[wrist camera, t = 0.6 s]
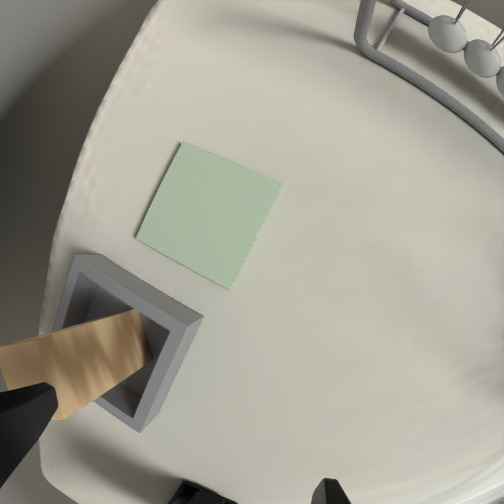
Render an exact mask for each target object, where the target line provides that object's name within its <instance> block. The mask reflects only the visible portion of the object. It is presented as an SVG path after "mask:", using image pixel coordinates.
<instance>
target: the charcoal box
mask: <svg viewBox="0 0 504 504" xmlns="http://www.w3.org/2000/svg"><path fill="white" fill-rule="evenodd" d="M132 309H136V310H137V311H139V314H140V317H141V321H142V324H143V327H144V330H145V333H146V336H147V339H148V342H149V345H150V348H151V351H152V354H153V357H154V359H153V360H152V361H150V362H149V363H147V364H146V365H145V366H143V367H142V368H140V369H139V370H137V371H136V372H135V373H133V374H132V375H130V376H129V377H127V378H126V379H124V380H123V381H121V382H120V383H119V384H117V385H116V386H114V387H113V388H111V389H110V390H108V391H107V392H105V393H104V394H102V395H101V396H99V397H98V398H96V399H95V400H93V401H94V402H96V403H97V404H98V405H100V406H101V407H102V408H104V409H105V410H106V411H108V412H109V413H111V414H112V415H113V416H115V417H116V418H118V419H119V420H121V421H122V422H124V423H125V424H127V425H128V426H130V427H131V428H133V429H134V430H136V431H137V432H139V433H140V432H141V431H142V430H143V429H144V428H145V427H146V426H147V425H148V424H149V423H150V422H151V421H152V420H153V419H154V417H155V416H156V415H157V414H158V412H159V410H160V408H161V406H162V404H163V402H164V399H165V397H166V395H167V393H168V391H169V389H170V387H171V384H172V382H173V380H174V378H175V376H176V374H177V372H178V370H179V367H180V365H181V363H182V361H183V359H184V357H185V355H186V353H187V350H188V348H189V346H190V344H191V342H192V340H193V338H194V336H195V334H196V332H197V329H198V327H199V325H200V323H201V321H202V319H203V317H204V316H203V315H201V314H199V313H198V312H196V311H194V310H192V309H190V308H189V307H187V306H185V305H183V304H182V303H180V302H178V301H176V300H175V299H173V298H171V297H170V296H168V295H166V294H164V293H163V292H161V291H159V290H158V289H156V288H154V287H153V286H151V285H149V284H148V283H146V282H144V281H143V280H141V279H139V278H138V277H136V276H135V275H133V274H131V273H130V272H128V271H126V270H125V269H123V268H122V267H120V266H119V265H117V264H115V263H114V262H112V261H111V260H109V259H108V258H106V257H104V256H103V255H86V254H75V257H74V260H73V263H72V266H71V269H70V272H69V275H68V278H67V281H66V284H65V287H64V291H63V294H62V297H61V301H60V304H59V308H58V312H57V315H56V319H55V323H54V327H53V331H52V332H54V331H58V330H61V329H64V328H68V327H71V326H74V325H78V324H81V323H84V322H88V321H91V320H94V319H98V318H102V317H105V316H109V315H113V314H117V313H121V312H125V311H128V310H132Z"/></svg>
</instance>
